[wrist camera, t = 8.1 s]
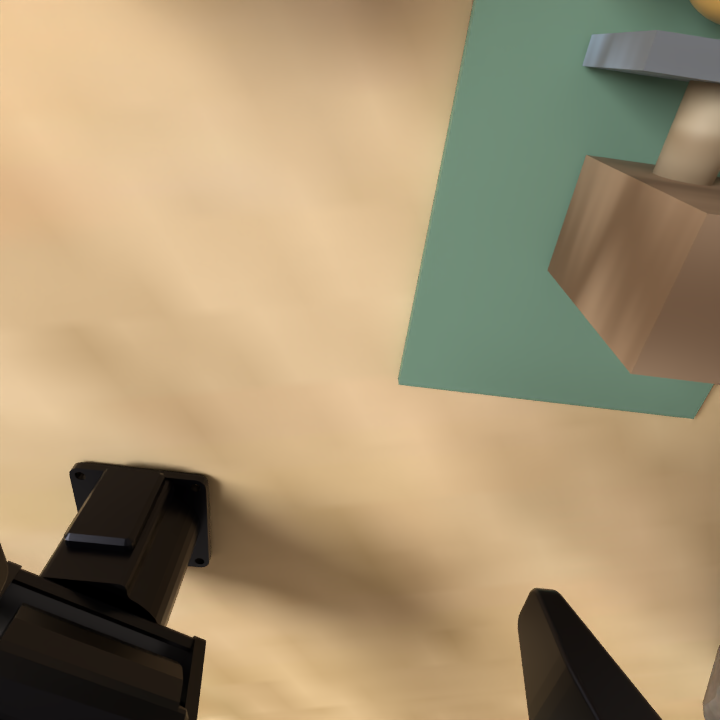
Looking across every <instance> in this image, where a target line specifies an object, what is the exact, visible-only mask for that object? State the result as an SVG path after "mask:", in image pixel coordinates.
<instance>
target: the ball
mask: <svg viewBox="0 0 720 720" xmlns="http://www.w3.org/2000/svg"><path fill="white" fill-rule="evenodd" d="M690 2H691V4H692V5H693V6H694V8H695V9H696V10H697V11H698V12H699V13H700V14H702V15H703V16H704V17H705V18H707V19H708V20H710V21H712V22H714V23H716V24H719V25H720V0H690Z"/></svg>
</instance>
